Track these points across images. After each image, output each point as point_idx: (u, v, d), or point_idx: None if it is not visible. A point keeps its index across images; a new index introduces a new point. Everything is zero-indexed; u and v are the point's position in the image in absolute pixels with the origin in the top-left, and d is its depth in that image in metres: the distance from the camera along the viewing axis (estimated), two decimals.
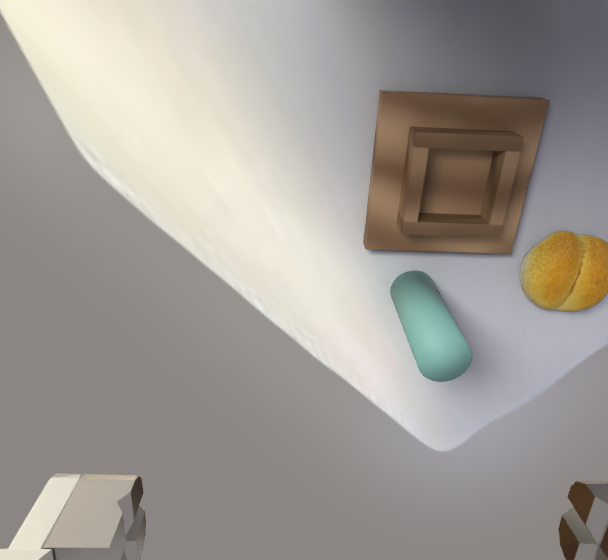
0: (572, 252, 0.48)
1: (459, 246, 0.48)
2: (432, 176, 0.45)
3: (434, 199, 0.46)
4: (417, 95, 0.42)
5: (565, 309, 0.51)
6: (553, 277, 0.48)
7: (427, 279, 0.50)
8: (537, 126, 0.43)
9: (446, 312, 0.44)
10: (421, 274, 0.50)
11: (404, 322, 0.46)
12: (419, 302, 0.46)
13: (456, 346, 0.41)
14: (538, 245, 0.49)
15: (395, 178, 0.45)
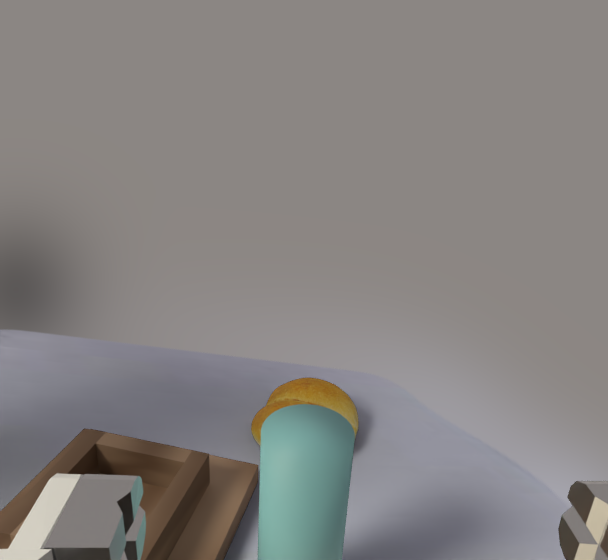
0: (268, 405, 0.41)
1: (224, 518, 0.32)
2: None
3: None
4: None
5: (352, 417, 0.41)
6: None
7: None
8: None
9: None
10: None
11: (288, 554, 0.24)
12: (258, 532, 0.26)
13: (284, 417, 0.25)
14: (260, 443, 0.39)
15: None
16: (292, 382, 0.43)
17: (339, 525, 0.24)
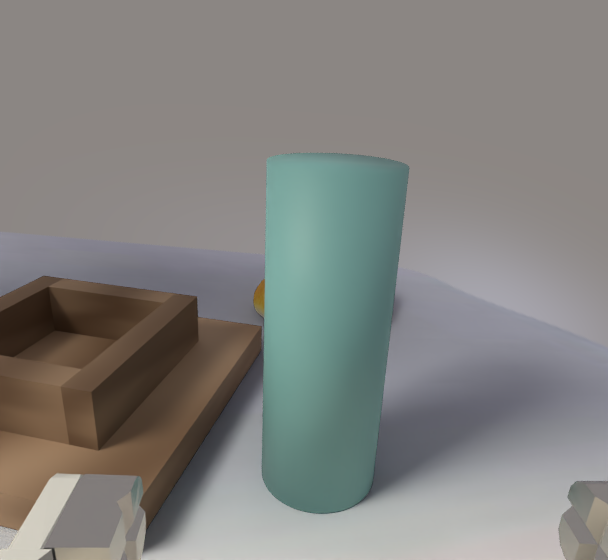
0: None
1: (216, 371, 0.24)
2: None
3: None
4: None
5: None
6: None
7: None
8: None
9: None
10: None
11: (310, 347, 0.16)
12: (264, 335, 0.17)
13: (300, 156, 0.17)
14: None
15: None
16: None
17: (385, 308, 0.16)
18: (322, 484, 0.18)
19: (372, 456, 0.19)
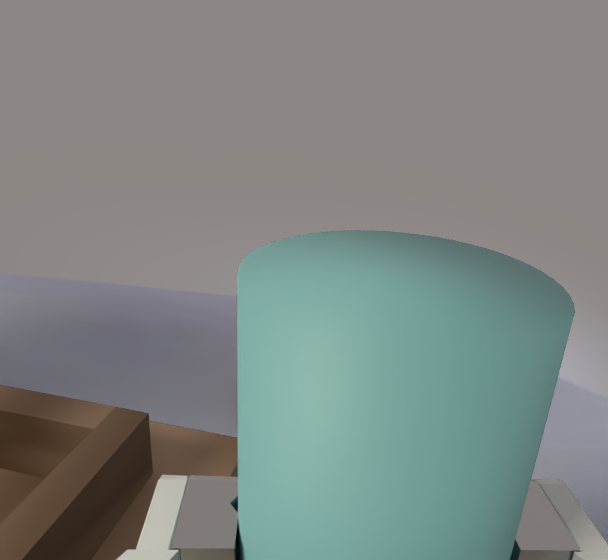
0: None
1: None
2: None
3: None
4: None
5: None
6: None
7: None
8: None
9: None
10: None
11: None
12: None
13: (313, 248, 0.08)
14: None
15: None
16: None
17: None
18: None
19: None
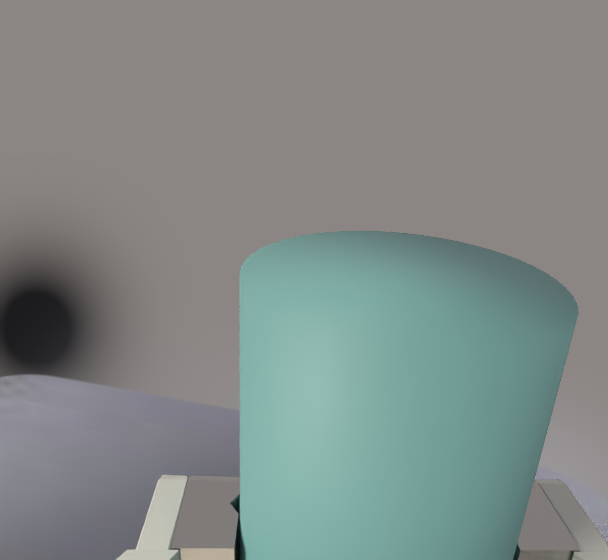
0: None
1: None
2: None
3: None
4: None
5: None
6: None
7: None
8: None
9: None
10: None
11: None
12: None
13: (316, 249, 0.08)
14: None
15: None
16: None
17: None
18: None
19: None
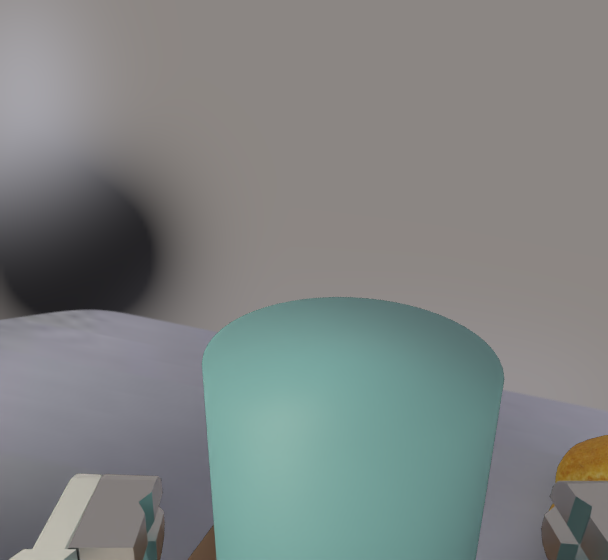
0: None
1: None
2: None
3: None
4: None
5: None
6: None
7: None
8: None
9: None
10: None
11: None
12: None
13: (277, 322, 0.09)
14: None
15: None
16: None
17: None
18: None
19: None
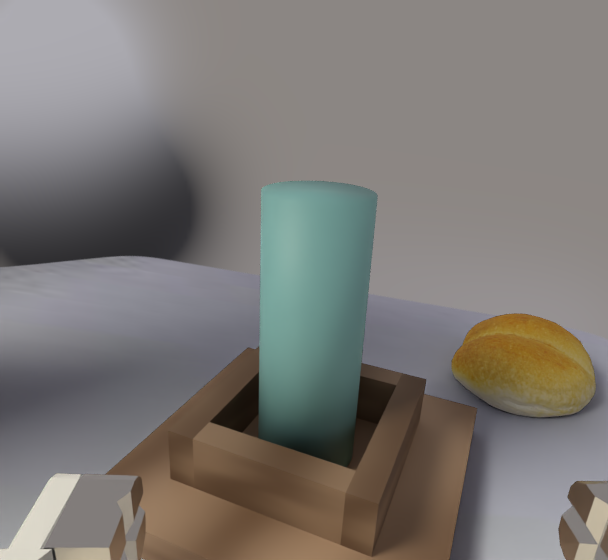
0: (478, 338, 0.32)
1: (452, 464, 0.23)
2: None
3: None
4: (127, 456, 0.23)
5: (588, 363, 0.32)
6: (519, 350, 0.30)
7: None
8: None
9: None
10: None
11: (296, 343, 0.19)
12: (260, 333, 0.21)
13: (290, 185, 0.20)
14: (471, 383, 0.31)
15: (257, 528, 0.19)
16: (501, 316, 0.34)
17: (358, 311, 0.20)
18: None
19: (350, 435, 0.22)
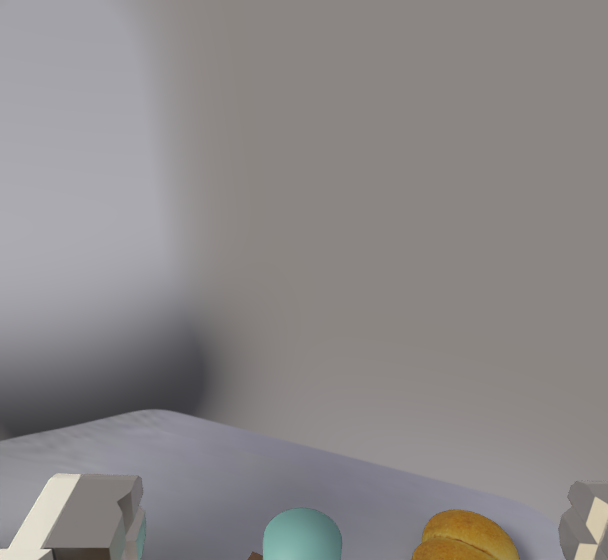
0: (431, 543, 0.41)
1: None
2: None
3: None
4: None
5: None
6: None
7: None
8: None
9: None
10: None
11: None
12: None
13: (283, 523, 0.29)
14: None
15: None
16: (452, 516, 0.43)
17: None
18: None
19: None
